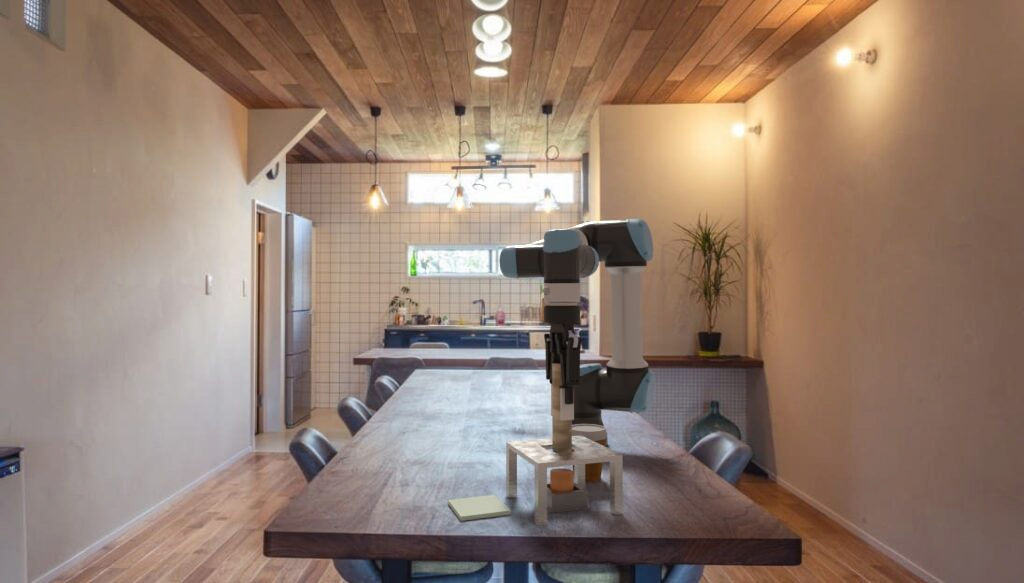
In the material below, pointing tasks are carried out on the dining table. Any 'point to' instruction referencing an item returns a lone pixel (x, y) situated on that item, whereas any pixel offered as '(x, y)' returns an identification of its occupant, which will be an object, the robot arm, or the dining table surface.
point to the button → (561, 480)
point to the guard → (544, 459)
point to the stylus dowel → (559, 427)
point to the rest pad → (478, 507)
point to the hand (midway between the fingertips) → (562, 417)
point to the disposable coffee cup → (596, 435)
